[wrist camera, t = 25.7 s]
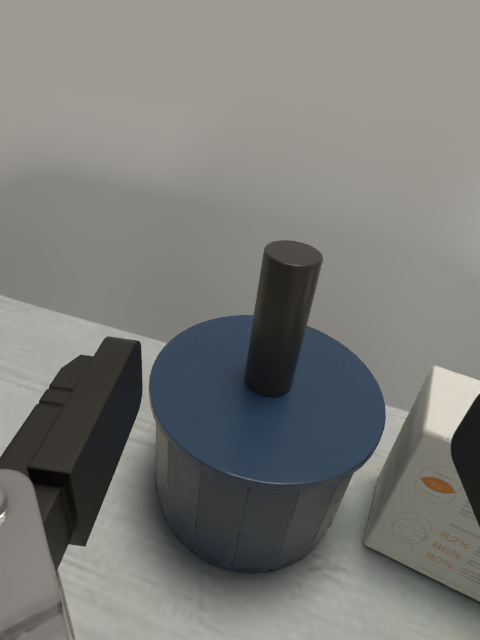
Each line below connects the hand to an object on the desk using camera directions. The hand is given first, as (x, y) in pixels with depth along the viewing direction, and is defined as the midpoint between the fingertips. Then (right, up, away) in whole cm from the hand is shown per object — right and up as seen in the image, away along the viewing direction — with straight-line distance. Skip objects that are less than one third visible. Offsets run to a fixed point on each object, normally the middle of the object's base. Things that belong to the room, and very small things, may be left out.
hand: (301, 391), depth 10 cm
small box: (+10, -12, +16) cm, 22 cm away
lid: (0, -2, +13) cm, 13 cm away
